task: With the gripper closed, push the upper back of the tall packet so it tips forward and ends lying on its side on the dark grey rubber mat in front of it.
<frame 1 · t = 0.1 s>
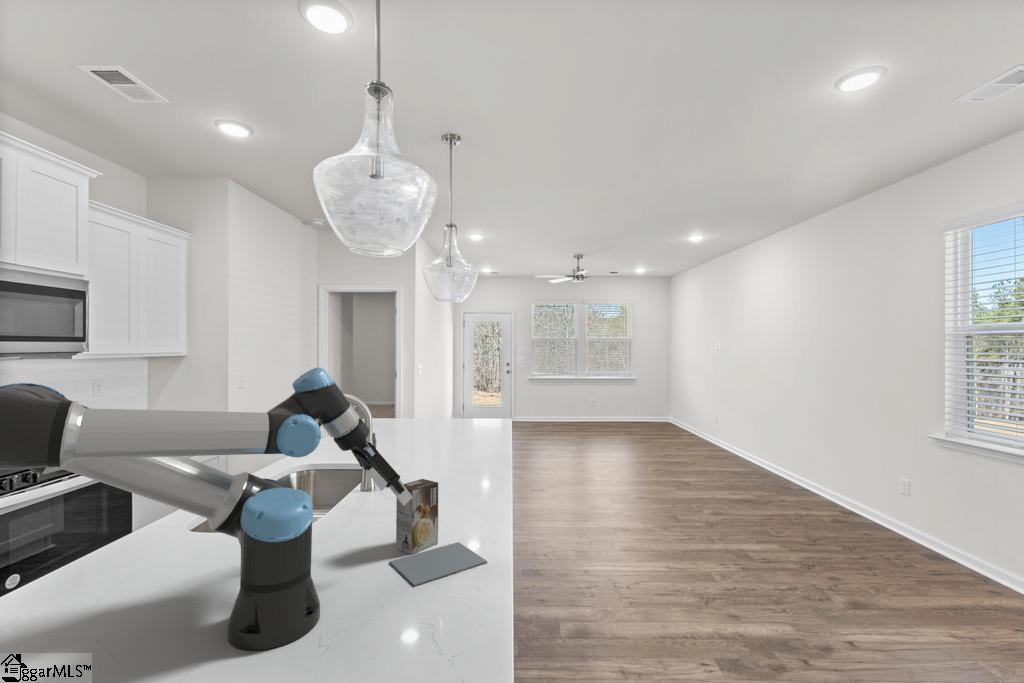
hand: (396, 493, 113), 15 cm above the counter, tool tilted 35°, fingers open, 13 cm apart
coffee box: (417, 546, 119), on the counter
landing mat: (438, 562, 110), on the counter
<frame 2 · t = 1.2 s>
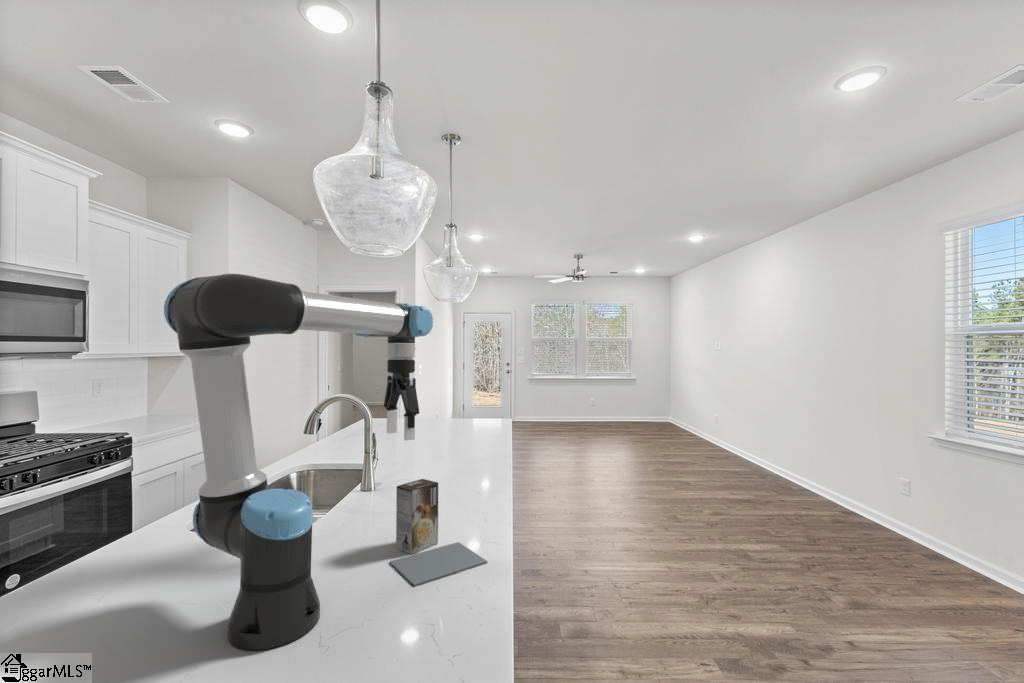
hand: (400, 436, 129), 26 cm above the counter, tool pointing down, fingers open, 11 cm apart
nothing on the counter moved.
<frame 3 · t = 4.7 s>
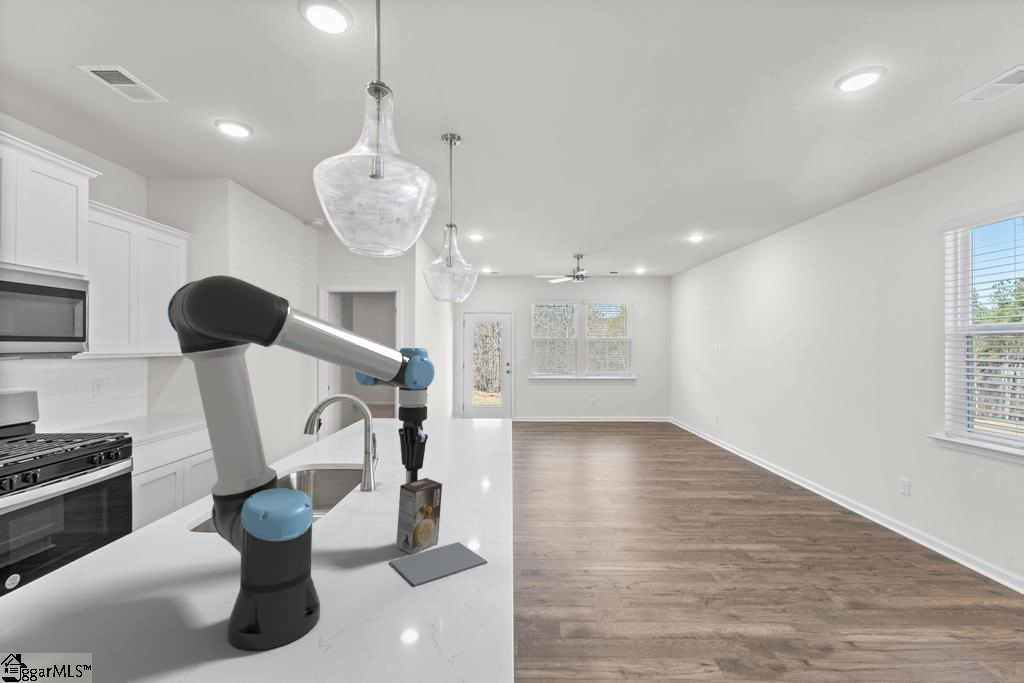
hand: (411, 493, 122), 12 cm above the counter, tool pointing down, fingers closed
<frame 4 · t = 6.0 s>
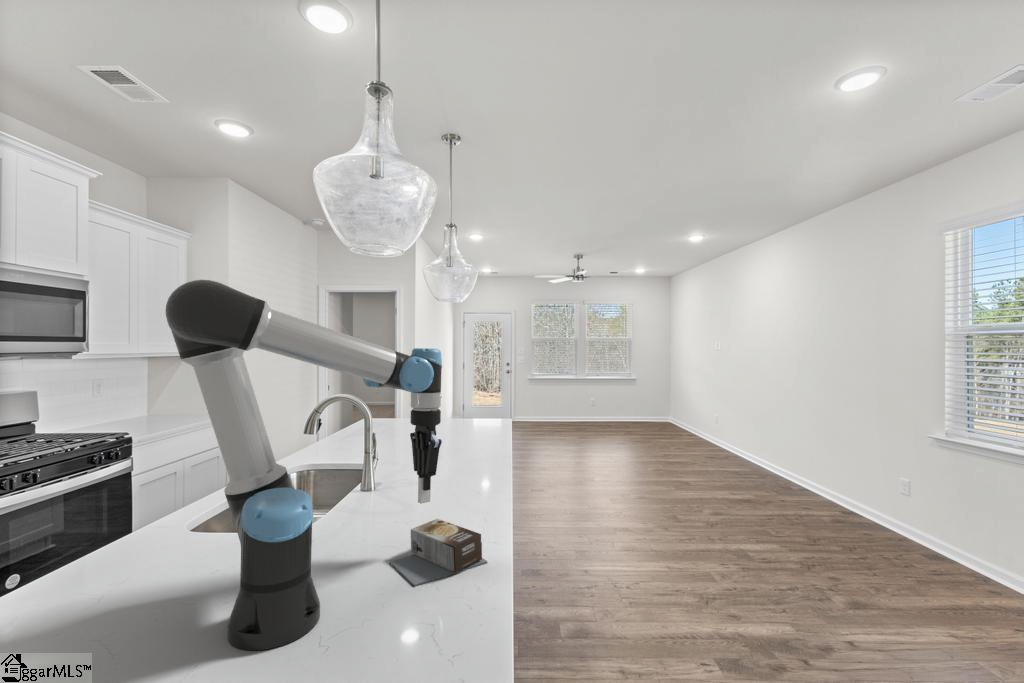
hand: (424, 501, 116), 12 cm above the counter, tool pointing down, fingers closed
coffee box: (423, 535, 117), point 4 cm above the counter, touching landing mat
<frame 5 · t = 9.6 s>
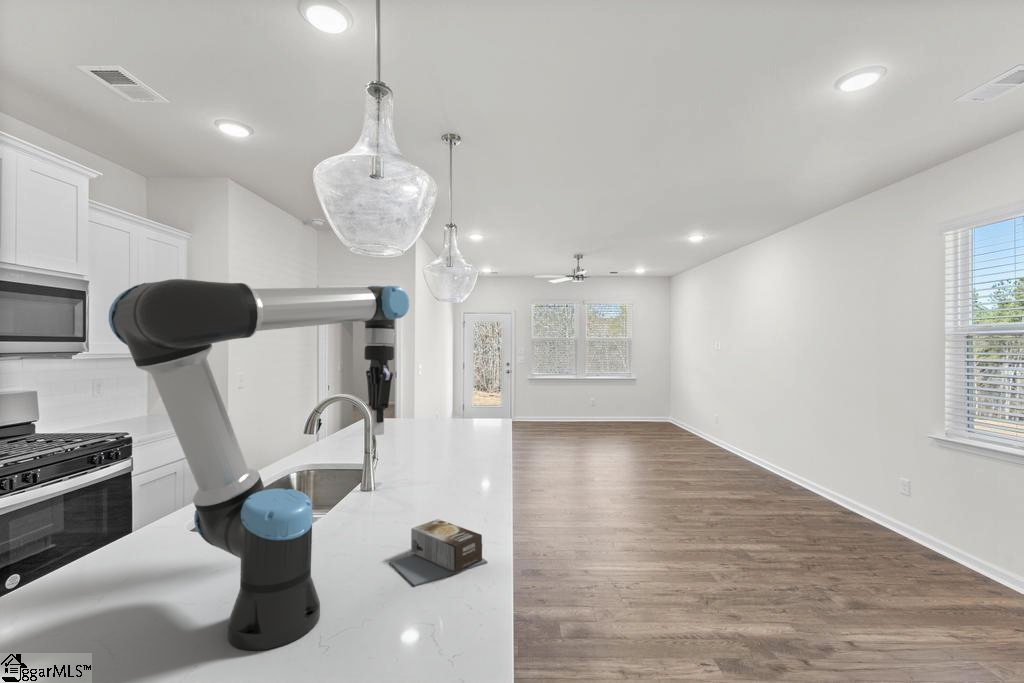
hand: (377, 434, 121), 28 cm above the counter, tool pointing down, fingers closed
nothing on the counter moved.
at the end: coffee box tilted 90°; coffee box touching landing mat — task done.
